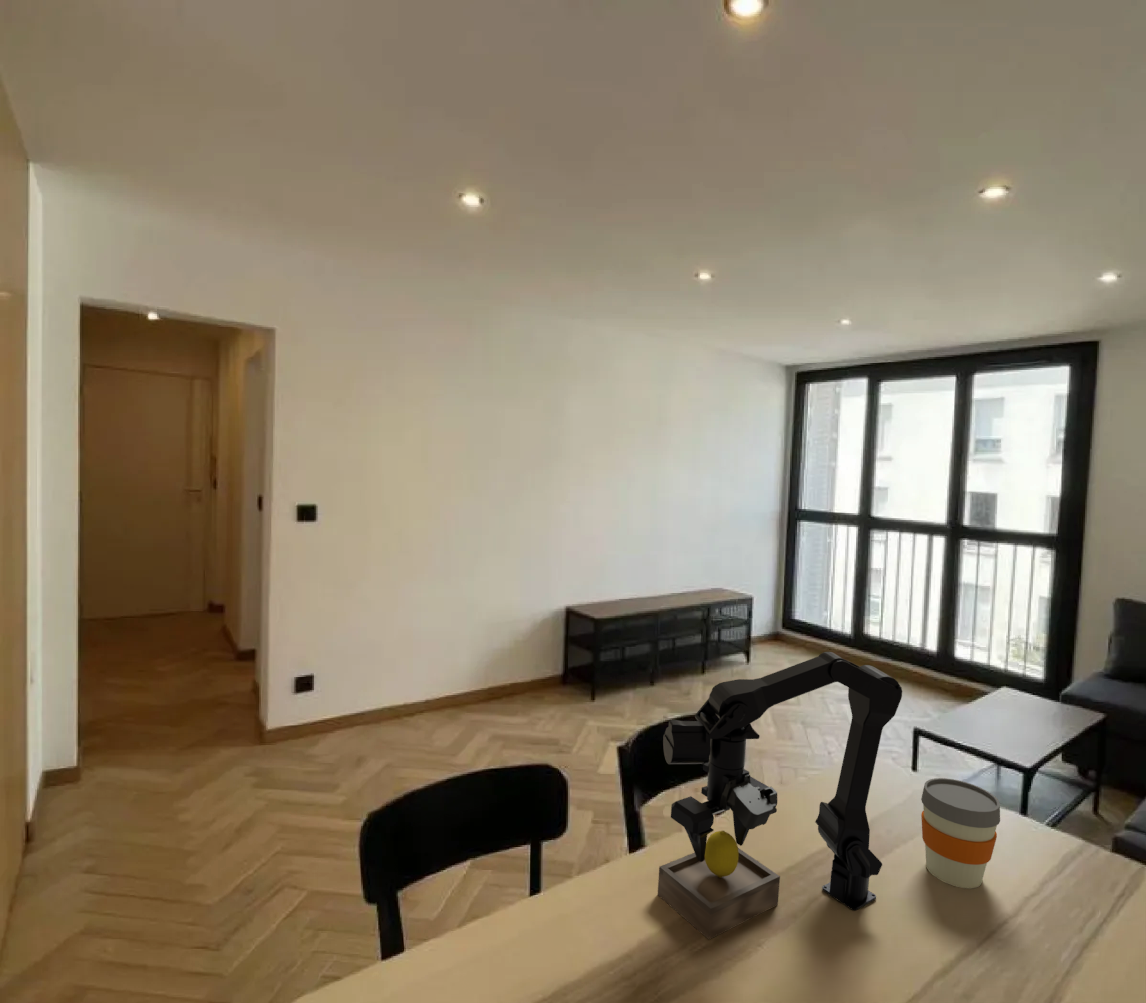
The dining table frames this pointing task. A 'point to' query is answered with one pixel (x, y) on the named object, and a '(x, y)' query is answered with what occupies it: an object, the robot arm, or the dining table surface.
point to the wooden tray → (717, 892)
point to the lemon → (721, 853)
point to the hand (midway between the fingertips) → (720, 852)
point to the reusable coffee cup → (958, 830)
